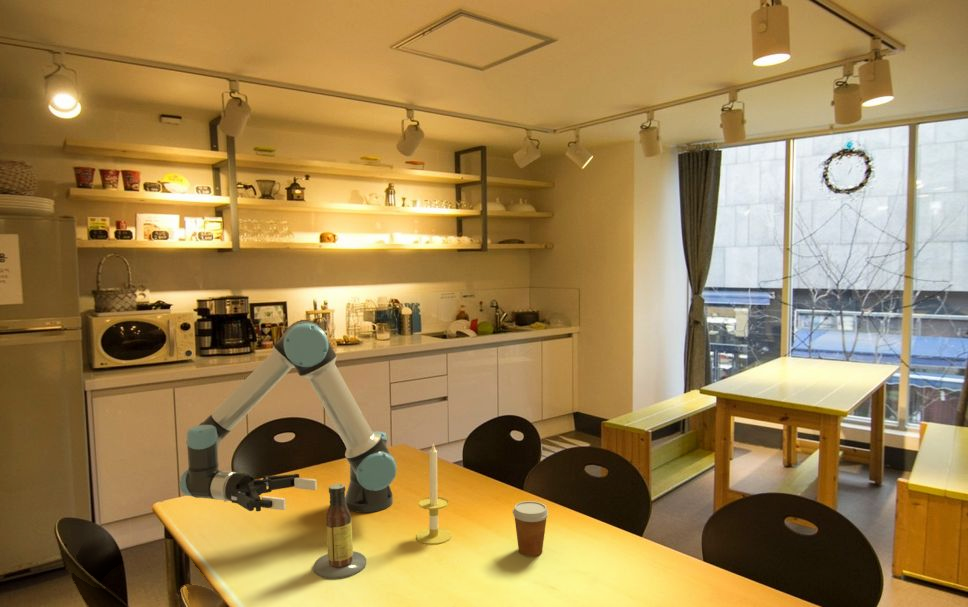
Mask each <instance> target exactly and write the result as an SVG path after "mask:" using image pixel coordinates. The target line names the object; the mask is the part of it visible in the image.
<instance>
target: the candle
mask: <svg viewBox="0 0 968 607" xmlns="http://www.w3.org/2000/svg"><path fill="white" fill-rule="evenodd" d="M449 504H450V503H449V499H447V498H445V497H443V496H438V450H436V447H435V444H434V442H432V446H431V449H430V450H429V497H424V498H422V499H420V500H419V501H418V506H419V507H420V508H422V509H424V510H429V512H428V513H429V515H428V516H429V525H428V527H429V528H425V529H422V530H420V531H419V532H418V533H417V534H416V540H417V542H419V543H420V544H421V543H422V544H425V545H431V546H432V545H440V544H444V543H447V542H449V541H450V540H451V538H452V533H451V532H450V531H449V530H448V529H445V528H439V510H441V509H443V508H446V507H447V506H448V505H449Z"/></svg>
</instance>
